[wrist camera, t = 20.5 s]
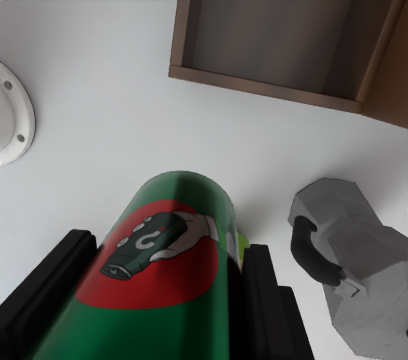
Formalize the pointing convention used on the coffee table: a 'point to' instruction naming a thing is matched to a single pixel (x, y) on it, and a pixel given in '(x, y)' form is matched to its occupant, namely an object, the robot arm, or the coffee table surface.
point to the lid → (392, 79)
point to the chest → (285, 47)
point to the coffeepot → (354, 266)
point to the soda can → (157, 282)
